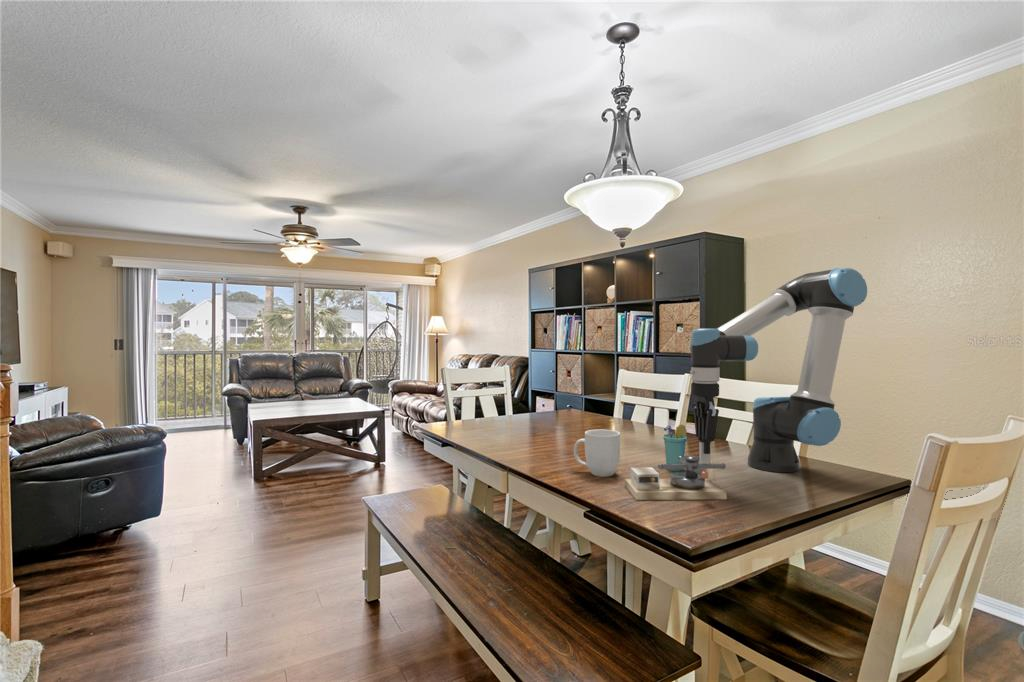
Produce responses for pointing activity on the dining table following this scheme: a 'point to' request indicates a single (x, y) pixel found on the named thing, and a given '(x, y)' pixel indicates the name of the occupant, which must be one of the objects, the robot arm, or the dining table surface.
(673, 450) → the teal pot with plants
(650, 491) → the stand
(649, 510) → the dining table surface
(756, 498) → the dining table surface
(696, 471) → the capstan
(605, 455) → the mug
